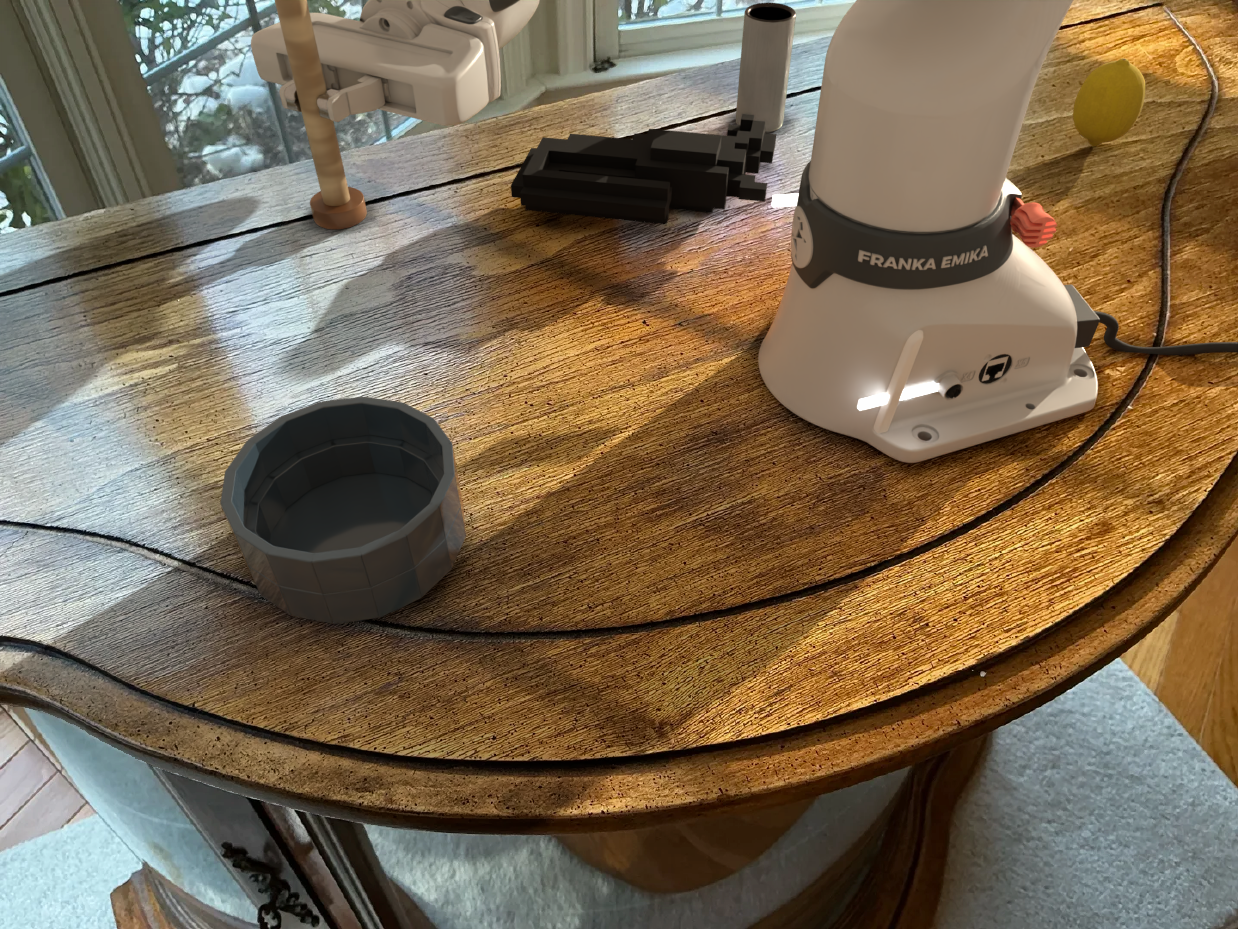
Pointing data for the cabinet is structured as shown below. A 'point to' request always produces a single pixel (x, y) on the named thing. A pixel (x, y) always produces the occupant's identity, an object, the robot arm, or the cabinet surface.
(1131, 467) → the cabinet surface
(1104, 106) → the lemon
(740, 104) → the light grey tube
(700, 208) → the tool
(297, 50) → the stirring stick
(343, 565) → the bowl
